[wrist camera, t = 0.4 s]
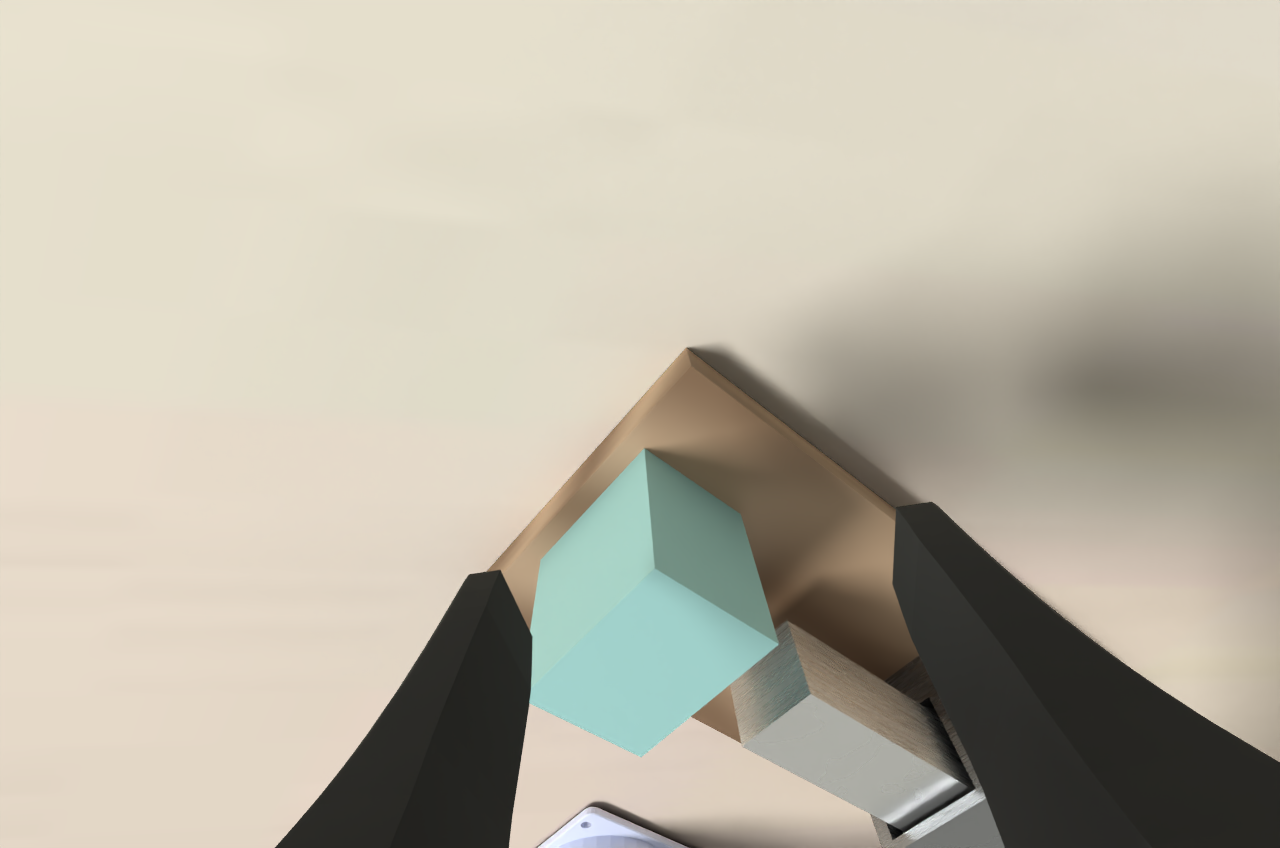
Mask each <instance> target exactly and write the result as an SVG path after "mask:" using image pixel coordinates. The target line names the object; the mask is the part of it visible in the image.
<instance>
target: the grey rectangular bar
mask: <svg viewBox="0 0 1280 848" xmlns="http://www.w3.org/2000/svg"><path fill="white" fill-rule="evenodd" d="M775 632H776V635H777V639H778V642H779V645H778V646H777V647H775V648H774V649H773V650H772V651H770V652H769V653H768V654H767V655H766V656H764V657H763V658H762V659H761V660H759V661H758V662H757V663H756V664H755V665H753V666H752V667H751V668H750V669H748V670H747V671H746V672H745V673H744V674H742V675H741V676H740V677H739V678H737V679H736V680H735V681H734V682H733V683H731V684H730V687H731V692H732V698H733V703H734V708H735V713H736V718H737V723H738V728H739V734H740V739H741V744H742V747H744V748H746V749H748V750H750V751H752V752H754V753H755V754H757V755H759V756H761V757H763V758H765V759H767V760H769V761H771V762H773V763H774V764H776V765H778V766H780V767H782V768H784V769H786V770H788V771H790V772H792V773H793V774H795V775H797V776H799V777H801V778H803V779H805V780H807V781H809V782H811V783H813V784H814V785H816V786H818V787H820V788H822V789H824V790H826V791H828V792H830V793H832V794H833V795H835V796H837V797H839V798H841V799H843V800H845V801H847V802H849V803H851V804H852V805H854V806H856V807H858V808H860V809H862V810H864V811H866V812H868V813H870V814H872V815H873V816H875V817H877V818H879V819H881V820H883V821H885V822H887V823H889V824H891V825H892V826H894V827H896V828H898V829H900V830H902V831H904V832H907V831H908V830H910V829H912V828H913V827H915V826H916V825H918V824H920V823H921V822H923V821H925V820H926V819H928V818H929V817H931V816H933V815H934V814H936V813H938V812H939V811H941V810H942V809H944V808H946V807H947V806H949V805H951V804H952V803H954V802H955V801H957V800H959V799H960V798H962V797H964V796H965V795H967V794H968V793H970V792H972V791H973V790H975V789H976V788H975V786H974V784H973V782H972V780H971V778H970V776H969V774H968V772H967V770H966V768H965V766H964V764H963V762H962V760H961V759H960V757H959V755H958V753H957V751H956V749H955V747H954V745H953V743H952V741H951V739H950V737H949V735H948V733H947V731H946V729H945V727H944V725H943V723H942V721H941V719H940V717H939V716H938V715H936V714H935V713H933V712H932V711H930V710H929V709H927V708H925V707H924V706H922V705H921V704H919V703H918V702H916V701H914V700H913V699H911V698H910V697H908V696H906V695H905V694H903V693H902V692H900V691H899V690H897V689H895V688H894V687H892V686H891V685H889V684H887V683H886V682H884V681H883V680H881V679H880V678H878V677H876V676H875V675H873V674H872V673H870V672H869V671H867V670H865V669H864V668H862V667H861V666H859V665H857V664H856V663H854V662H853V661H851V660H850V659H848V658H846V657H845V656H843V655H842V654H840V653H839V652H837V651H835V650H834V649H832V648H831V647H829V646H827V645H826V644H824V643H823V642H821V641H820V640H818V639H816V638H815V637H813V636H812V635H810V634H809V633H807V632H805V631H804V630H802V629H801V628H799V627H797V626H796V625H794V624H793V623H791V622H790V621H788V620H786V621H785V622H784V623H782V624H781V625H780V626H779V627H778V628H776V629H775Z"/></svg>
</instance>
